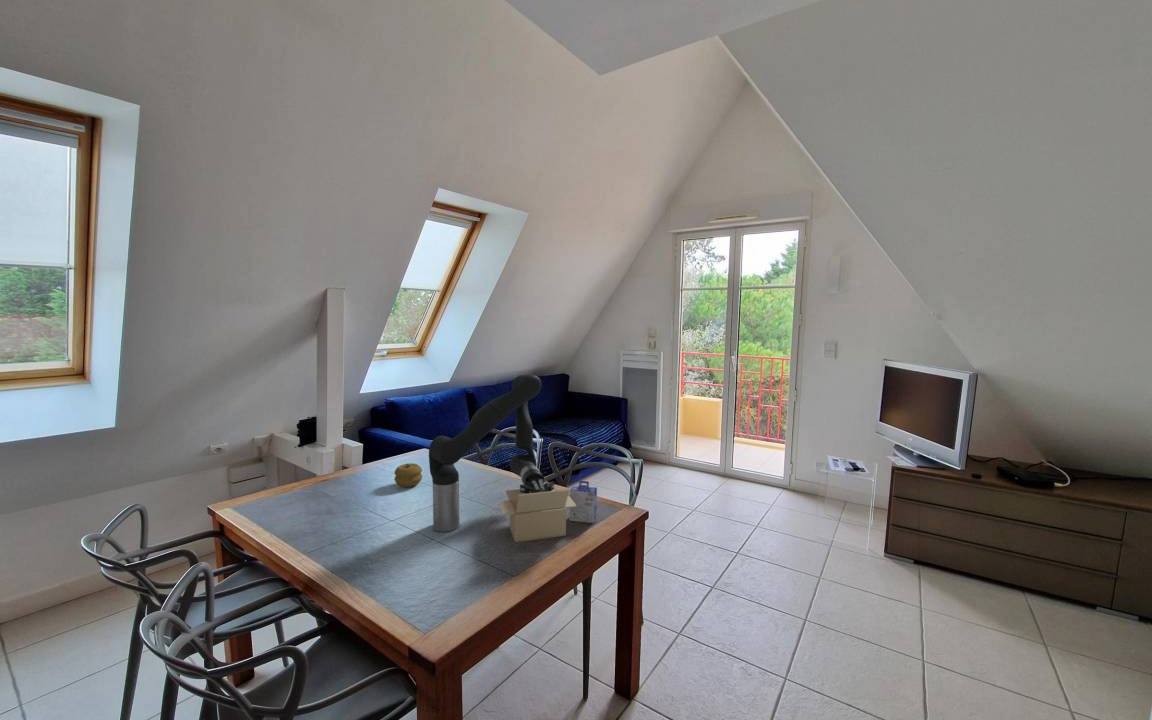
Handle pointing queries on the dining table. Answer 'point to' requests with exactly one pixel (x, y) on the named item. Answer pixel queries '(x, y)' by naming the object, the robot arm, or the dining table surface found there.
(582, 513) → the ink cartridge box
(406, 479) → the stacked bagel
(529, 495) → the far flap
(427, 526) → the dining table surface
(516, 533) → the carton
